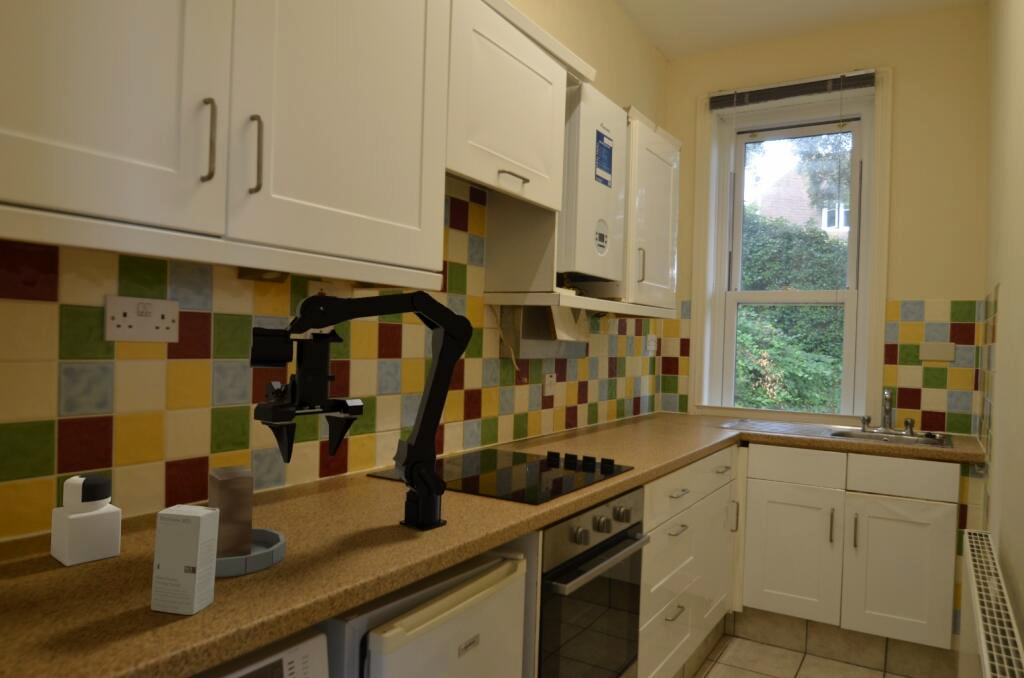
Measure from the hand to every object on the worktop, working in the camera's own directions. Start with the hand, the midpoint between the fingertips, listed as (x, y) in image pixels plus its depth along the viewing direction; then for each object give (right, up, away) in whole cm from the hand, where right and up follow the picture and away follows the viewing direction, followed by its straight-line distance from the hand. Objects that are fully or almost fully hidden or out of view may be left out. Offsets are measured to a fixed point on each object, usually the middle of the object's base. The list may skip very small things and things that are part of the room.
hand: (310, 459), depth 111 cm
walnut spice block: (-8, -12, -13) cm, 19 cm away
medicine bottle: (-30, -12, -13) cm, 35 cm away
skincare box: (-6, -13, -30) cm, 34 cm away
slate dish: (-8, -13, -13) cm, 20 cm away
